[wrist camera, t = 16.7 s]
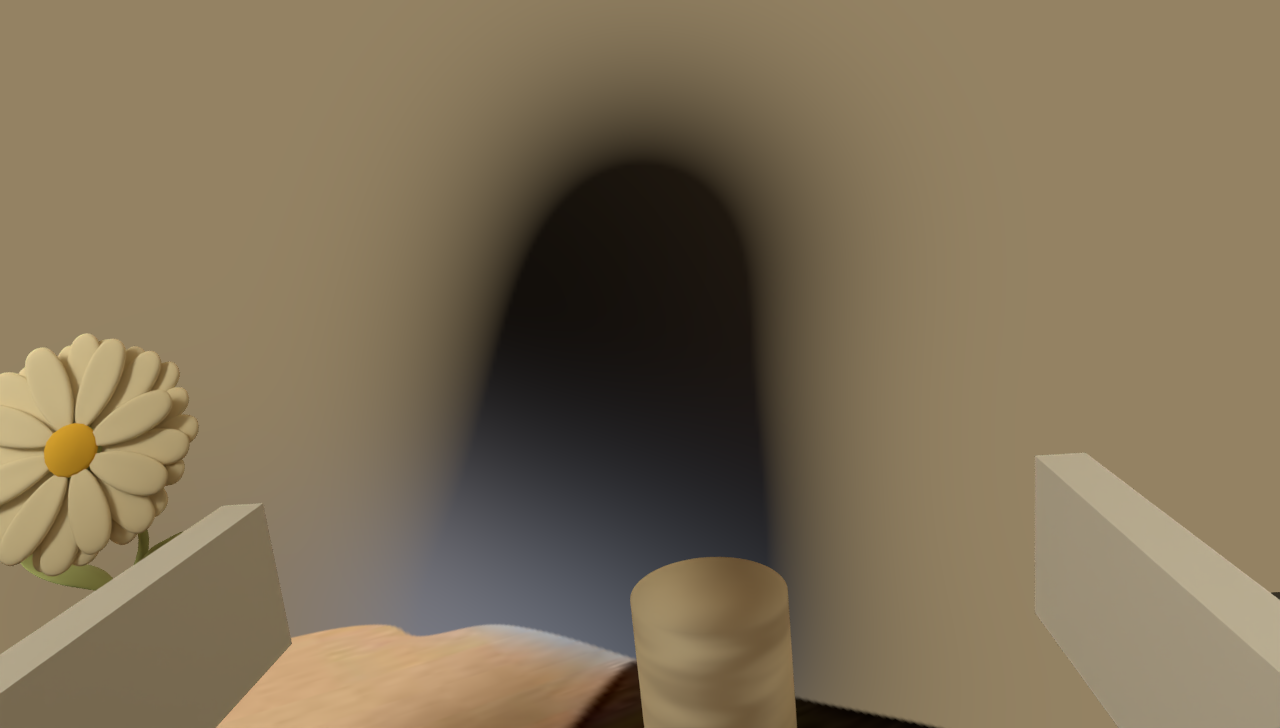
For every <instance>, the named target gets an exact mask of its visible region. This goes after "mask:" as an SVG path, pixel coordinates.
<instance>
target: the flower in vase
mask: <svg viewBox="0 0 1280 728" xmlns="http://www.w3.org/2000/svg"><path fill="white" fill-rule="evenodd" d="M179 377H180V372H179V368H178V366H177V365H176V364H175V363H173V362H165V363H161V359H160V357H159V355H158V354H157V353H156V352H154V351H146V352H145V351H144V350H143V349H142V348H140V347H137V346H135V347H131V348H129V349H127V350H126V349H125V347H124V344H123V343H122V342H121V341H120V340H118V339H108V340H107V339H106V340H101V341H98V340H97V338H96V337H95V336H93V335H92V334H82V335H80V336H78V337H77V338H76V339H75V340H74V342H73V343H72V345H70V346H67V347H65V348H64V349H63V350H62V351H61V352H60V353H59V356H58V357H57V355H55V354H54V353H53V352H52V351H51V350H50V349H47V348H44V347H43V348H38V349H35V350H33V351H32V352H31V353H30V354H29V355H28V357H27V359H26V362H25V368H23V369H22V370H21V371H20V373H19V374H17V373H12V372H6V373H2V374H0V562H1V563H2V564H4V565H8V566H13V565H16V564H19V563H21V564H22V566H23V567H24V568H25V569H27V570H28V571H29V572H30V573H32V574H34V575H35V576H37V577H39V578H42V579H44V580H46V581H49V582H52V583H56V584H60V585H65V586H70V587H76V588H83V589H89V590H95V591H96V590H97V589H99V588H100V587H102V586H103V585H105V584H106V583H108V582H109V581H111V580H112V579H113V578H112V577H111V576H110V575H109V574H108V573H107V572H105V571H104V570H102V569H100V568H98V567H95V566H91V565H87V564H88V563H90V562H91V561H93V560H94V558H95V557H96V556H97V554H98V552H99V551H101V550H102V549H103V548H104V547H105V546H106V545H107V543H108V542H109V539H110V540H111V541H113V542H115V543H116V544H119V545H125V544H128V543H129V542H131V541H132V540H133V539H134V538H135V537H136V535H137V534H138V539H139V542H138V552H137V556H136V560H135V563H134V565H135V564H136V563H138V562H139V561H141V560H142V559H144V558H145V557H147V556H148V555H150V554H151V553H153V552H154V551H156V550H157V549H159V548H160V547H162V546H163V545H165V544H166V543H168V542H169V541H171V540H172V539H174V538H175V537H177V536H178V535H180V534H181V533H183V532H180V533H178V534H176V535H174V536H172V537H170V538H168V539H166V540H164V541H162V542H160V543H158V544H157V545H155V546H154V547H152V548H151V549H150V550H149V551H148V549H149V536H148V530H147V529H148V528H149V527H150V526H151V524H152V522H153V520H154V517H156V516H158V515H160V514H161V513H162V512H163V511H164V509H165V508H166V506H167V503H168V496H167V493H166V491H165V489H164V486H168V485H172V484H174V483H176V482H178V481H179V480H180V479H181V477H182V475H183V473H184V469H185V464H184V461H183V460H182V459H183V458H184V457H185V456H186V454H187V453H188V450H189V443H190V442H191V441H193V439H195V437H196V436H197V433H198V428H199V425H198V421H197V419H196V418H195V417H193V416H190V415H184V414H183V415H181V414H182V413H183V412H184V411H185V409H186V407H187V406H188V403H189V397H188V393H187V391H186V390H185V389H184V388H181V387H175V386H176V384H177V382H178V380H179Z"/></svg>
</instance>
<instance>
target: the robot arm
mask: <svg viewBox="0 0 1280 728" xmlns="http://www.w3.org/2000/svg"><path fill="white" fill-rule="evenodd" d="M1035 613H1036V615H1037V616H1038V618H1039V619H1040V620H1041V622H1042V623H1043V624H1044V626H1045V627H1046V628H1047V630H1048V631H1049V633H1050V634H1051V635H1052V637H1053V638H1054V640H1055V641H1056V642H1057V644H1058V645H1059V646H1060V648H1061V649H1062V651H1063V652H1064V653H1065V655H1066V656H1067V658H1068V659H1069V660H1070V662H1071V663H1072V664H1073V666H1074V667H1075V669H1076V670H1077V671H1078V673H1079V674H1080V675H1081V677H1082V678H1083V680H1084V681H1085V682H1086V684H1087V685H1088V687H1089V688H1090V689H1091V691H1092V692H1093V694H1094V695H1095V696H1096V697H1097V699H1098V700H1099V702H1100V703H1101V704H1102V706H1103V707H1104V709H1105V710H1106V711H1107V713H1108V714H1109V716H1110V717H1111V718H1112V720H1113V721H1114V723H1115V724H1116V725H1117V727H1118V728H1280V592H1274V593H1270V592H1268V591H1267V590H1266V589H1265V588H1263V587H1262V586H1261V585H1259V584H1258V583H1257V582H1255V581H1254V580H1253V579H1251V578H1250V577H1249V576H1247V575H1246V574H1245V573H1243V572H1242V571H1241V570H1239V569H1238V568H1237V567H1235V566H1234V565H1233V564H1231V563H1230V562H1229V561H1228V560H1226V559H1225V558H1224V557H1222V556H1221V555H1220V554H1218V553H1217V552H1216V551H1214V550H1213V549H1212V548H1210V547H1209V546H1208V545H1206V544H1205V543H1204V542H1202V541H1201V540H1200V539H1199V538H1197V537H1196V536H1194V535H1193V534H1192V533H1191V532H1189V531H1188V530H1187V529H1185V528H1184V527H1182V526H1181V525H1180V524H1179V523H1177V522H1176V521H1175V520H1173V519H1172V518H1171V517H1170V516H1168V515H1167V514H1166V513H1164V512H1163V511H1162V510H1160V509H1159V508H1157V507H1156V506H1155V505H1154V504H1152V503H1151V502H1150V501H1148V500H1147V499H1146V498H1144V497H1143V496H1142V495H1140V494H1139V493H1138V492H1136V491H1135V490H1134V489H1132V488H1131V487H1130V486H1129V485H1127V484H1126V483H1125V482H1123V481H1122V480H1121V479H1119V478H1118V477H1117V476H1115V475H1114V474H1113V473H1111V472H1110V471H1109V470H1107V469H1106V468H1105V467H1104V466H1102V465H1101V464H1100V463H1098V462H1097V461H1096V460H1094V459H1093V458H1092V457H1090V456H1089V455H1088V454H1086V453H1073V454H1056V455H1040V456H1035ZM291 644H292V642H291V637H290V632H289V627H288V622H287V618H286V612H285V608H284V603H283V598H282V593H281V589H280V583H279V578H278V574H277V569H276V564H275V559H274V554H273V549H272V545H271V540H270V535H269V530H268V525H267V521H266V515H265V511H264V506H263V503H260V504H243V505H229V506H228V505H227V506H222V507H220V508H218V509H217V510H215V511H214V512H213V513H211V514H209V515H208V516H206V517H205V518H203V519H202V520H201V521H199V522H198V523H196V524H195V525H193V526H192V527H190V528H189V529H187V530H186V531H184V532H183V533H181V534H180V535H178V536H177V537H175V538H174V539H172V540H171V541H169V542H168V543H166V544H165V545H163V546H162V547H160V548H159V549H157V550H156V551H154V552H153V553H151V554H150V555H148V556H147V557H145V558H144V559H142V560H141V561H139V562H138V563H136V564H135V565H133V566H132V567H130V568H129V569H127V570H126V571H124V572H123V573H121V574H120V575H118V576H117V577H115V578H114V579H112V580H111V581H109V582H108V583H106V584H105V585H103V586H102V587H100V588H99V589H97V590H96V591H94V592H93V593H91V594H90V595H88V596H87V597H85V598H84V599H83V600H81V601H80V602H78V603H77V604H75V605H74V606H72V607H71V608H69V609H68V610H66V611H65V612H63V613H62V614H60V615H59V616H57V617H56V618H54V619H53V620H51V621H50V622H48V623H47V624H45V625H44V626H42V627H41V628H39V629H38V630H36V631H35V632H33V633H32V634H30V635H29V636H27V637H26V638H24V639H23V640H21V641H20V642H18V643H17V644H15V645H14V646H12V647H11V648H9V649H8V650H6V651H5V652H3V653H2V654H0V728H216V727H217V726H218V724H219V723H220V722H221V721H222V720H223V719H224V718H225V717H226V716H227V715H228V713H229V712H230V711H231V710H232V709H233V708H234V707H235V706H236V705H237V704H238V702H239V701H240V700H241V699H242V698H243V697H244V696H245V695H246V694H247V693H248V691H249V690H250V689H251V688H252V687H253V686H254V685H255V684H256V683H257V681H258V680H259V679H260V678H261V677H262V676H263V675H264V674H265V673H266V672H267V670H268V669H269V668H270V667H271V666H272V665H273V664H274V663H275V662H276V661H277V659H278V658H279V657H280V656H281V655H282V654H283V653H284V652H285V651H286V650H287V648H288V647H289V646H290V645H291Z"/></svg>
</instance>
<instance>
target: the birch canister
mask: <svg viewBox="0 0 1280 728" xmlns="http://www.w3.org/2000/svg"><path fill="white" fill-rule="evenodd" d="M630 603H631V611H632V621H633V629H634V639H635V647H636V657H637V666H638V675H639V684H640V693H641V702H642V711H643V720H644V728H797V721H796V706H795V692H794V677H793V662H792V648H791V632H790V617H789V603H788V588H787V585H786V582H785V581H784V579H783V578H782V577H781V576H780V575H779V574H778V573H777V572H775V571H774V570H772V569H771V568H769V567H767V566H764V565H762V564H760V563H756V562H753V561H749V560H745V559H739V558H730V557H705V558H696V559H689V560H684V561H680V562H676V563H673V564H669V565H666V566H664V567H662V568H659V569H657V570H655V571H653V572H651V573H650V574H648V575H647V576H645V577H644V578H643V579H641V580H640V581H639V582H638V583H637V584H636V586H635V587H634V589H633V591H632V593H631V599H630Z"/></svg>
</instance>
